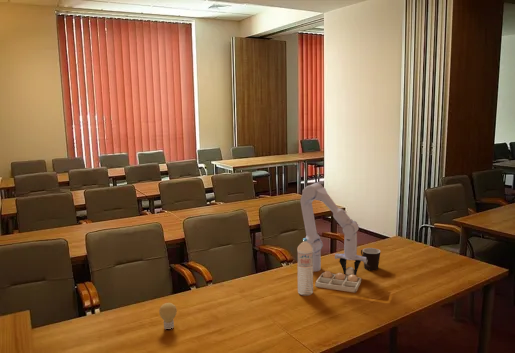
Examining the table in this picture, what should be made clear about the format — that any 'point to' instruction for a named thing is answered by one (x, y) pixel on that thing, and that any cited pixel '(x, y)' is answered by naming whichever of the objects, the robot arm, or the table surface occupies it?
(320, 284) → the carton
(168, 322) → the light bulb
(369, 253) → the coffee mug
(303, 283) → the water bottle
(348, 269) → the white rounded ball
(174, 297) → the table surface
